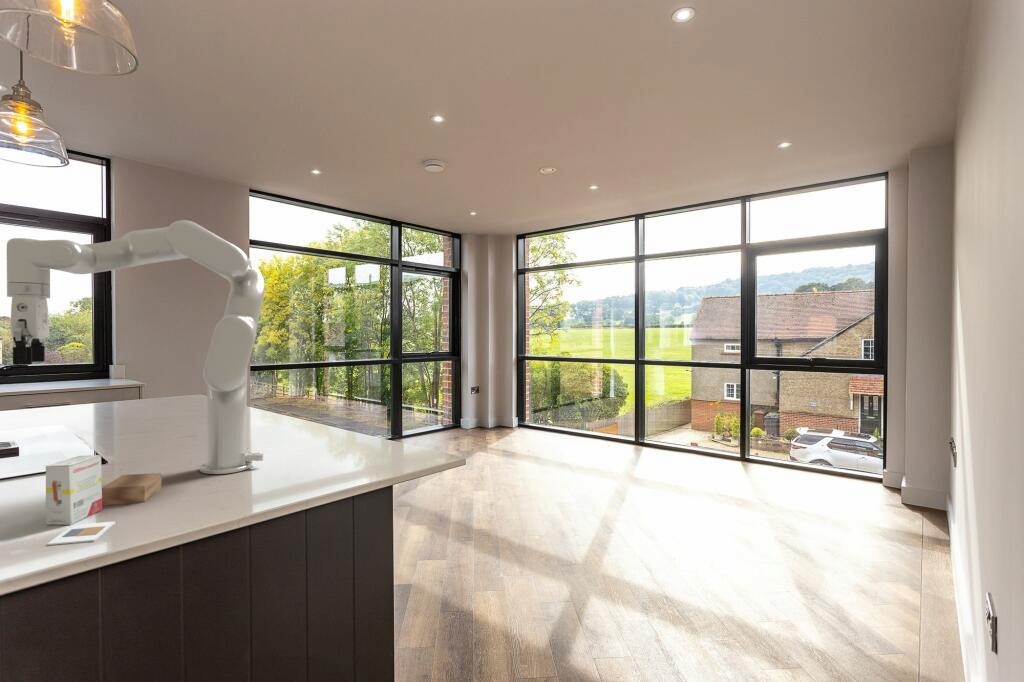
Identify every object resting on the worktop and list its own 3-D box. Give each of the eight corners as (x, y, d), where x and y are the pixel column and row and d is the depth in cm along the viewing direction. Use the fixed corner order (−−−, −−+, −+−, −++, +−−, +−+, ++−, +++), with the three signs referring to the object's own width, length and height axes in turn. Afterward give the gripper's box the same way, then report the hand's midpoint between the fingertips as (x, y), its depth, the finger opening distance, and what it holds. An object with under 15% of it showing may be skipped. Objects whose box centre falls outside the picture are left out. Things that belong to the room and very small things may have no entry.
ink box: (79, 509, 108) (79, 454, 108) (103, 509, 108) (103, 454, 108) (43, 525, 100) (43, 465, 99) (70, 525, 100) (70, 465, 100)
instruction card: (115, 522, 101) (115, 521, 101) (94, 541, 93) (94, 539, 93) (72, 526, 99) (72, 524, 99) (46, 545, 91) (46, 543, 91)
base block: (161, 489, 123) (161, 473, 123) (144, 503, 114) (144, 485, 113) (122, 491, 121) (122, 475, 121) (101, 506, 111) (101, 488, 111)
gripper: (38, 290, 116) (39, 365, 117) (59, 293, 131) (59, 360, 132) (-7, 288, 113) (-6, 366, 113) (20, 292, 128) (20, 360, 128)
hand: (29, 363), depth 123 cm, fingers open, 9 cm apart
